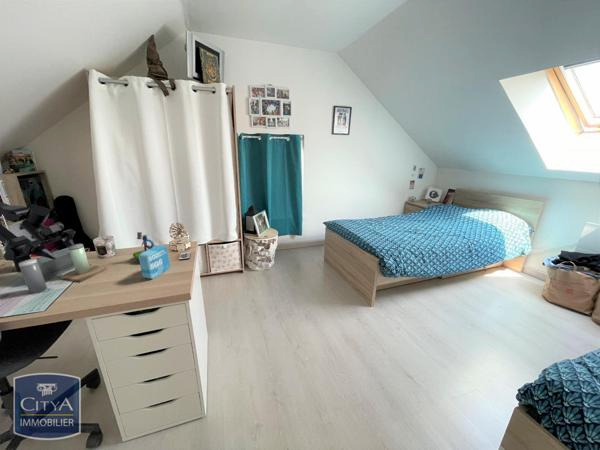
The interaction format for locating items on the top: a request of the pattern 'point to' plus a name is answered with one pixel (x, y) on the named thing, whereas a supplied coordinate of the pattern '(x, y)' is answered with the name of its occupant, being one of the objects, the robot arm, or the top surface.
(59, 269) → the slate unit
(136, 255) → the pirate figurine
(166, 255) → the data package
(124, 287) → the top surface
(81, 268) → the sage canister
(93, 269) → the walnut plate
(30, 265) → the grey cylinder
